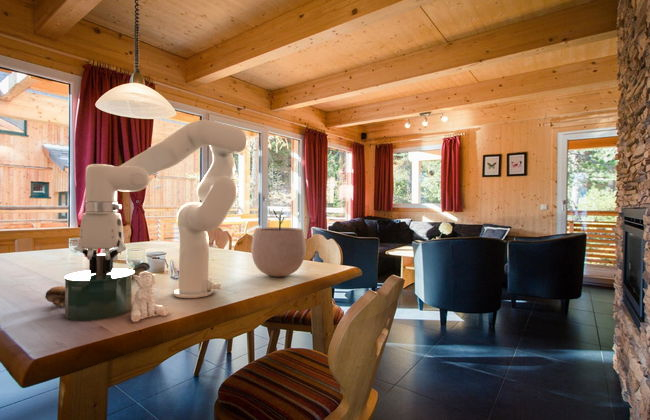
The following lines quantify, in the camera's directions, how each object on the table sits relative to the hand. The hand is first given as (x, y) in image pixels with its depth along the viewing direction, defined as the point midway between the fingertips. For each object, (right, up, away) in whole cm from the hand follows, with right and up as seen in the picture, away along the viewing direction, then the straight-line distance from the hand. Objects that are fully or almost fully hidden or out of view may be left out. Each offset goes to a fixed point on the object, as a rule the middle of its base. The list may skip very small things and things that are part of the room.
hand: (101, 272), depth 99 cm
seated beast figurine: (+14, -12, -3) cm, 18 cm away
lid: (0, -1, 0) cm, 1 cm away
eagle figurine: (-12, -10, +42) cm, 45 cm away
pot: (0, -11, 0) cm, 11 cm away
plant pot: (+43, -12, +56) cm, 72 cm away
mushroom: (-15, -11, +5) cm, 19 cm away
